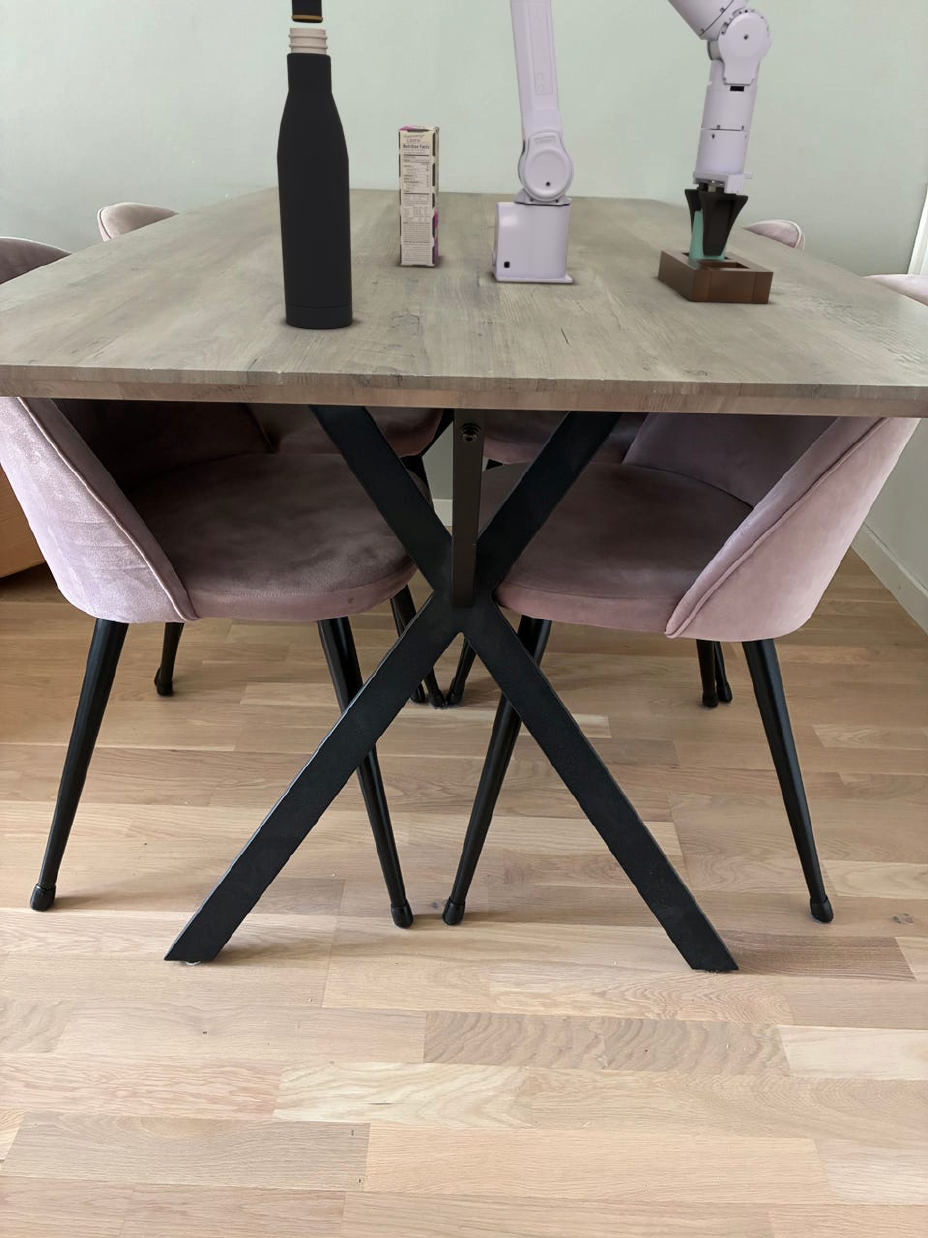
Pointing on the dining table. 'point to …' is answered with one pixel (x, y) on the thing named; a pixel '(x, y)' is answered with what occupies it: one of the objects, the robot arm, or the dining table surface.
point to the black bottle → (313, 184)
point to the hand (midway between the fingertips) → (706, 252)
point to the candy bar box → (419, 195)
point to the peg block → (715, 278)
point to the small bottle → (701, 237)
